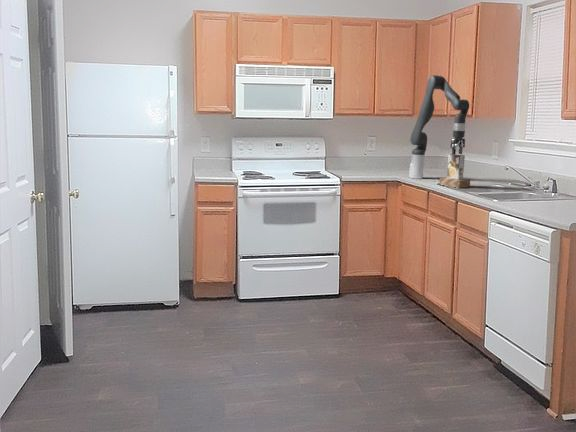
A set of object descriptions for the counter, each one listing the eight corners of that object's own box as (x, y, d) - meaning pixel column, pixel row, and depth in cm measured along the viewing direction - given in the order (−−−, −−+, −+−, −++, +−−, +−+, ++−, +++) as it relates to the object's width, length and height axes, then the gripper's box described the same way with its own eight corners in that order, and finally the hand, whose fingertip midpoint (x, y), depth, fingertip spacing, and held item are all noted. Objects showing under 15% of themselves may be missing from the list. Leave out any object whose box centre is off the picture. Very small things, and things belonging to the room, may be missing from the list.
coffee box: (463, 179, 446) (465, 155, 443) (458, 179, 441) (460, 155, 438) (451, 177, 452) (453, 153, 449) (446, 178, 447) (448, 154, 444)
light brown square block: (439, 185, 447) (439, 178, 446) (450, 183, 457) (450, 176, 456) (459, 188, 437) (459, 180, 436) (469, 186, 447) (470, 179, 446)
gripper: (459, 129, 448) (457, 153, 451) (448, 129, 438) (446, 154, 441) (469, 130, 442) (467, 154, 446) (458, 130, 432) (456, 155, 436)
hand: (457, 154), depth 443 cm, fingers open, 8 cm apart
